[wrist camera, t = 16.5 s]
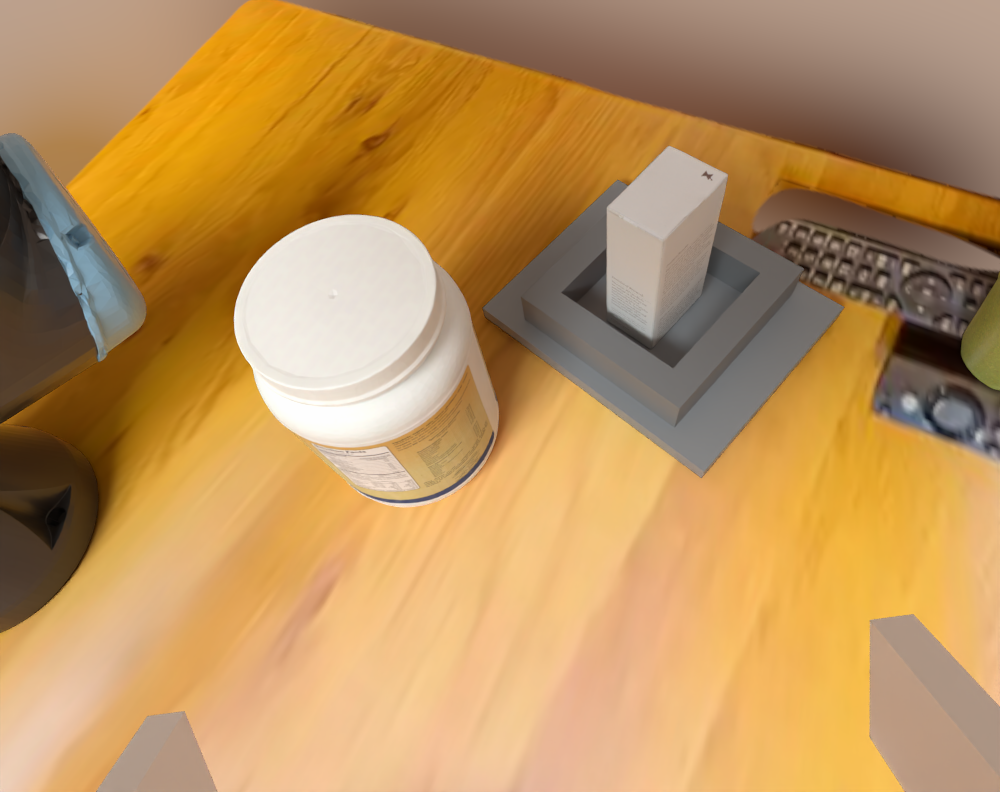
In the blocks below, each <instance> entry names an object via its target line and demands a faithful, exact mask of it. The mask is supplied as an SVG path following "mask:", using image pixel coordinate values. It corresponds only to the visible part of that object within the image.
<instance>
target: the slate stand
mask: <svg viewBox="0 0 1000 792" xmlns="http://www.w3.org/2000/svg"><path fill="white" fill-rule="evenodd" d="M627 187H628V185H626V184H624V183H623V182H621V181H619V180H617V181H616V182H615V183H614V184H613V185H611V186H610V187H609V188H608V189H607V190H606V191H605V192H604V193H603V194H602V195H601V196H600V197H599V198H598V199H597V200H596V201H595V202H594V203H593V204H591V205H590V206H589V207H588V208H587V209H586V210H585V211H584V212H583V213H582V214H581V215H580V216H579V217H578V218H577V219H576V220H575V221H574V222H572V223H571V224H570V225H569V226H568V227H567V228H566V229H565V230H564V231H563V232H562V233H561V234H560V235H559V236H558V237H557V238H556V239H555V240H554V241H552V242H551V243H550V244H549V245H548V246H547V247H546V248H545V249H544V250H543V251H542V252H541V253H540V254H539V255H538V256H537V257H536V258H535V259H534V260H532V261H531V262H530V263H529V264H528V265H527V266H526V267H525V268H524V269H523V270H522V271H521V272H520V273H519V274H518V275H517V276H516V277H515V278H514V279H512V280H511V281H510V282H509V283H508V284H507V285H506V286H505V287H504V288H503V289H502V290H501V291H500V292H499V293H498V294H497V295H496V296H495V297H494V298H492V299H491V300H490V301H489V302H488V303H487V304H486V305H485V306H484V307H483V311H484V315H485V317H486V318H487V319H489V320H490V321H491V322H493V323H494V324H496V325H497V326H498V327H500V328H501V329H502V330H504V331H505V332H506V333H508V334H509V335H510V336H512V337H513V338H514V339H516V340H517V341H518V342H520V343H521V344H522V345H524V346H525V347H526V348H528V349H529V350H530V351H532V352H533V353H534V354H536V355H537V356H538V357H540V358H541V359H542V360H544V361H545V362H547V363H548V364H549V365H551V366H552V367H553V368H555V369H556V370H557V371H559V372H560V373H561V374H563V375H564V376H565V377H567V378H568V379H569V380H571V381H572V382H573V383H575V384H576V385H577V386H579V387H580V388H581V389H583V390H584V391H585V392H587V393H588V394H589V395H591V396H592V397H593V398H595V399H596V400H598V401H599V402H600V403H602V404H603V405H604V406H606V407H607V408H608V409H610V410H611V411H612V412H614V413H615V414H616V415H618V416H619V417H620V418H622V419H623V420H624V421H626V422H627V423H628V424H630V425H631V426H632V427H634V428H635V429H636V430H638V431H639V432H640V433H642V434H643V435H644V436H646V437H647V438H649V439H650V440H651V441H653V442H654V443H655V444H657V445H658V446H659V447H661V448H662V449H663V450H665V451H666V452H667V453H669V454H670V455H671V456H673V457H674V458H675V459H677V460H678V461H679V462H681V463H682V464H683V465H685V466H686V467H687V468H689V469H690V470H691V471H693V472H694V473H695V474H697V475H698V476H700V477H701V478H702V477H703V476H704V475H705V473H706V472H707V471H708V470H709V469H710V467H711V466H712V465H713V464H714V463H715V462H716V460H717V459H718V458H719V457H720V456H721V454H722V453H723V452H724V451H725V450H726V449H727V447H728V446H729V445H730V444H731V443H732V441H733V440H734V439H735V438H736V437H737V436H738V434H739V433H740V432H741V431H742V430H743V429H744V427H745V426H746V425H747V424H748V423H749V421H750V420H751V419H752V418H753V417H754V416H755V414H756V413H757V412H758V411H759V410H760V408H761V407H762V406H763V405H764V404H765V403H766V401H767V400H768V399H769V398H770V397H771V395H772V394H773V393H774V392H775V391H776V390H777V388H778V387H779V386H780V385H781V384H782V383H783V381H784V380H785V379H786V378H787V377H788V375H789V374H790V373H791V372H792V371H793V370H794V368H795V367H796V366H797V365H798V364H799V362H800V361H801V360H802V359H803V358H804V357H805V355H806V354H807V353H808V352H809V351H810V350H811V348H812V347H813V346H814V345H815V344H816V342H817V341H818V340H819V339H820V338H821V337H822V335H823V334H824V333H825V332H826V331H827V329H828V328H829V327H830V326H831V325H832V324H833V322H834V321H835V320H836V319H837V318H838V316H839V315H840V313H841V312H842V310H843V308H844V307H843V306H842V305H840V304H838V303H836V302H834V301H833V300H831V299H829V298H827V297H825V296H824V295H822V294H820V293H818V292H817V291H815V290H813V289H811V288H809V287H808V286H806V285H804V284H802V283H801V282H799V279H800V276H801V274H802V272H803V270H804V268H802V267H800V266H798V265H796V264H795V263H793V262H791V261H789V260H787V259H785V258H784V257H782V256H780V255H778V254H776V253H775V252H773V251H771V250H769V249H767V248H766V247H764V246H762V245H760V244H758V243H756V242H755V241H753V240H751V239H749V238H747V237H746V236H744V235H742V234H740V233H738V232H737V231H735V230H733V229H731V228H729V227H727V226H726V225H724V224H722V223H720V222H718V223H717V228H716V232H715V236H714V241H713V245H712V249H711V254H710V258H709V263H708V267H707V272H706V276H705V281H704V285H703V289H702V294H701V296H700V297H699V298H698V299H697V300H696V301H695V302H694V303H693V304H692V305H691V307H690V308H689V309H688V310H687V311H686V312H685V313H684V314H683V315H682V316H681V318H680V319H679V320H678V321H677V322H676V323H675V324H674V325H673V326H672V327H671V328H670V330H669V331H668V332H667V333H666V334H665V335H664V336H663V337H662V338H661V339H660V340H659V341H658V342H657V344H656V345H655V346H654V347H653V348H652V349H650V348H648V347H647V346H645V345H644V344H642V343H641V342H639V341H638V340H636V339H635V338H633V337H632V336H630V335H629V334H627V333H626V332H624V331H623V330H621V329H620V328H618V327H616V326H615V325H613V324H612V323H610V322H609V321H608V320H607V318H606V317H607V304H606V300H607V206H608V205H609V204H611V203H612V202H613V201H614V200H615V199H616V198H617V197H618V196H619V195H620V194H621V193H622V192H623V191H624V190H625V189H626V188H627Z"/></svg>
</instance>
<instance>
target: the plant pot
mask: <svg viewBox="0 0 1000 792" xmlns="http://www.w3.org/2000/svg"><path fill="white" fill-rule="evenodd" d="M961 356H962V359H963V361H964V363H965V365H966V366H967V368H968V369H969V370H970V372H971V373H972V374H973V375H974V376H975V377H976V378H977V379H979V380H980V381H981V382H982V383H984V384H985V385H987V386H989V387H990V388H993V389H995V390H1000V272H999V275H998V279H997V281H996V283H995V284H994V286H993V287H992V289H991V291H990V292H989V294H988V295H987V297H986V299H985V300H984V302H983V303H982V305H981V307H980V308H979V310H978V311H977V313H976V315H975V316H974V318H973V319H972V321H971V322H970V324H969V326H968V327H967V329H966V330H965V332H964V333H963V337H962V345H961Z"/></svg>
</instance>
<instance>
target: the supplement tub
mask: <svg viewBox="0 0 1000 792" xmlns="http://www.w3.org/2000/svg"><path fill="white" fill-rule="evenodd" d="M234 330H235V335H236V339H237V342H238V345H239V347H240V349H241V352H242V353H243V355H244V357H245V358H246V360H247V361H248V362H249V363H250V365H251V366H252V368H253V373H254V378H255V381H256V385H257V387H258V390H259V392H260V394H261V396H262V398H263V400H264V402H265V403H266V405H267V406H268V408H269V410H270V411H271V412H272V414H273V415H274V416H275V417H276V418H277V419H278V420H279V421H280V422H281V423H282V424H283V425H284V426H285V427H287V428H288V429H289V430H290V431H292V432H293V433H294V434H295V435H296V436H297V437H298V438H299V439H300V440H301V441H302V442H303V443H304V444H305V445H306V446H307V447H309V448H310V449H311V450H312V451H313V452H314V453H315V454H316V455H317V456H318V457H319V458H320V459H322V460H323V461H324V462H325V463H326V464H327V465H328V466H329V467H331V468H332V469H333V470H334V471H335V472H336V473H337V474H338V475H340V476H341V477H342V478H343V479H344V480H345V481H346V482H347V483H348V484H349V485H350V486H351V487H352V488H354V489H355V490H356V491H357V492H359V493H360V494H362V495H364V496H365V497H367V498H369V499H372V500H374V501H377V502H380V503H383V504H386V505H390V506H395V507H417V506H423V505H427V504H431V503H434V502H437V501H440V500H442V499H444V498H446V497H448V496H450V495H452V494H454V493H455V492H457V491H458V490H460V489H461V488H462V487H464V486H465V485H466V484H467V483H468V482H470V481H471V480H472V479H473V478H474V477H475V476H476V474H477V473H478V472H479V471H480V470H481V468H482V467H483V465H484V464H485V463H486V461H487V459H488V457H489V455H490V453H491V451H492V449H493V446H494V443H495V440H496V436H497V431H498V423H499V407H498V401H497V397H496V393H495V391H494V388H493V386H492V383H491V379H490V376H489V373H488V370H487V367H486V363H485V360H484V357H483V354H482V351H481V348H480V345H479V341H478V338H477V335H476V332H475V329H474V326H473V323H472V320H471V316H470V311H469V308H468V305H467V302H466V300H465V298H464V296H463V294H462V292H461V291H460V289H459V287H458V286H457V284H456V283H455V282H454V280H453V279H452V278H451V276H450V275H449V274H448V273H447V272H446V271H445V270H444V269H443V268H442V267H441V266H439V265H438V264H437V263H436V262H434V261H433V260H432V258H431V256H430V254H429V252H428V250H427V249H426V247H425V246H424V245H423V243H422V242H421V241H420V240H419V239H418V238H417V237H416V236H415V235H414V234H413V233H412V232H410V231H409V230H408V229H406V228H405V227H403V226H401V225H399V224H397V223H395V222H393V221H390V220H388V219H385V218H381V217H376V216H369V215H342V216H335V217H330V218H326V219H322V220H319V221H316V222H313V223H310V224H308V225H306V226H303V227H301V228H299V229H297V230H295V231H294V232H292V233H290V234H289V235H287V236H285V237H284V238H282V239H281V240H280V241H278V242H277V243H276V244H274V245H273V246H272V247H271V248H270V249H269V250H268V251H267V252H266V253H265V254H264V255H263V256H262V257H261V258H260V259H259V260H258V261H257V263H256V264H255V265H254V266H253V268H252V269H251V271H250V272H249V274H248V275H247V277H246V279H245V280H244V282H243V285H242V287H241V289H240V292H239V295H238V298H237V301H236V306H235V312H234Z"/></svg>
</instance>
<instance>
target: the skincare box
mask: <svg viewBox="0 0 1000 792" xmlns="http://www.w3.org/2000/svg"><path fill="white" fill-rule="evenodd" d="M727 179H728V174H727V173H724V172H722V171H720V170H718V169H716V168H714V167H712V166H710V165H708V164H706V163H704V162H702V161H700V160H698V159H696V158H694V157H692V156H690V155H688V154H686V153H684V152H682V151H680V150H678V149H676V148H674V147H671V146H668V147H667V148H666V149H665V150H664V151H663V152H662V153H661V154H660V155H659V156H658V157H657V158H656V159H655V160H654V161H653V162H652V163H651V164H650V165H649V166H648V167H647V168H646V169H645V170H644V171H643V172H642V173H641V174H640V175H639V176H638V177H637V178H636V179H635V180H634V181H633V182H632V183H631V184H630V185H629V186H628V187H627V188H626V189H625V190H624V191H623V192H622V193H621V194H620V195H619V196H618V197H617V198H616V199H615V200H614V201H613V202H612V203H611V204H609V205H608V206H607V300H606V304H607V317H606V318H607V320H608V321H609V322H610V323H612V324H613V325H615V326H616V327H618V328H620V329H621V330H623V331H624V332H626V333H627V334H629V335H630V336H632V337H633V338H635V339H636V340H638V341H639V342H641V343H642V344H644V345H645V346H647V347H648V348H650V349H652V348H653V347H654V346H655V345H656V344H657V342H658V341H659V340H660V339H661V338H662V337H663V336H664V335H665V334H666V333H667V332H668V331H669V330H670V328H671V327H672V326H673V325H674V324H675V323H676V322H677V321H678V320H679V319H680V318H681V316H682V315H683V314H684V313H685V312H686V311H687V310H688V309H689V308H690V307H691V305H692V304H693V303H694V302H695V301H696V300H697V299H698V298H699V297H700V296H701V294H702V289H703V285H704V281H705V276H706V272H707V267H708V263H709V258H710V254H711V249H712V245H713V241H714V236H715V232H716V228H717V223H718V219H719V214H720V210H721V206H722V202H723V198H724V194H725V189H726V184H727Z"/></svg>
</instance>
